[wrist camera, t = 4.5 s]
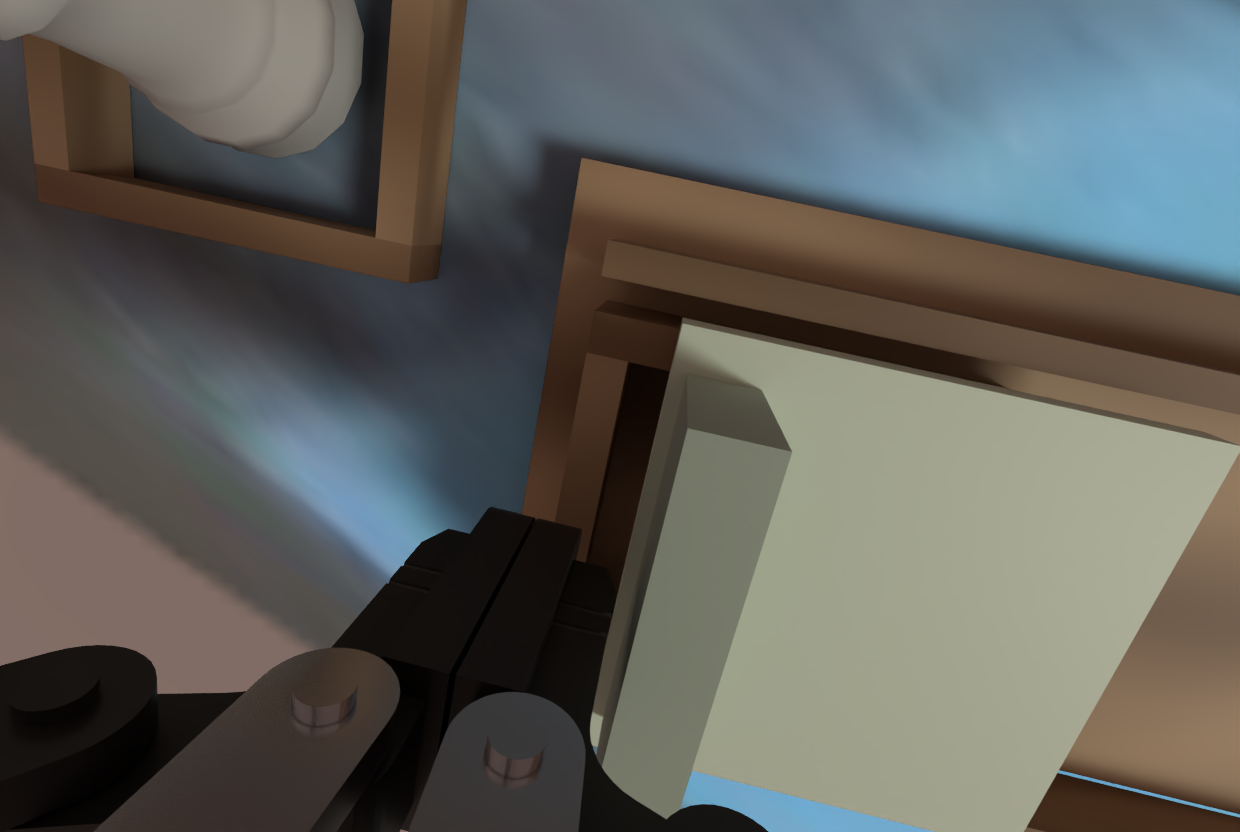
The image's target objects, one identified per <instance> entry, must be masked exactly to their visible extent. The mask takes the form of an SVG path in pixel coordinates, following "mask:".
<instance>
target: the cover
mask: <svg viewBox="0 0 1240 832" xmlns="http://www.w3.org/2000/svg"><path fill="white" fill-rule="evenodd" d="M1239 453H1240V445H1237V444H1235V443H1232V442H1229V441H1227V440H1224V439H1221V438H1219V437H1216V436H1214V435H1211V434H1208V433H1206V432H1202V431H1198V430H1193V429H1189V428H1184V427H1180V426H1175V425H1171V424H1166V423H1161V422H1157V421H1152V420H1148V419H1143V418H1139V417H1134V416H1130V415H1125V414H1120V413H1116V412H1111V411H1107V410H1102V409H1098V408H1093V407H1089V406H1084V405H1079V404H1075V403H1070V402H1066V401H1061V400H1057V399H1052V398H1048V397H1043V396H1038V395H1034V394H1029V393H1025V392H1020V391H1016V390H1011V389H1007V388H1002V387H997V386H993V385H988V384H984V383H979V382H975V381H970V380H966V379H961V378H956V377H952V376H947V375H943V374H938V373H934V372H929V371H925V370H920V369H915V368H911V367H906V366H902V365H897V364H893V363H888V362H884V361H879V360H874V359H870V358H865V357H861V356H856V355H852V354H847V353H843V352H838V351H833V350H829V349H824V348H820V347H815V346H811V345H806V344H802V343H797V342H792V341H788V340H783V339H779V338H774V337H770V336H765V335H761V334H756V333H751V332H747V331H742V330H738V329H733V328H729V327H724V326H720V325H715V324H710V323H706V322H701V321H697V320H692V319H688V318H683V319H682V323H681V327H680V332H679V336H678V340H677V344H676V349H675V353H674V357H673V361H672V366H671V370H670V374H669V378H668V383H667V387H666V391H665V395H664V400H663V404H662V408H661V412H660V417H659V421H658V425H657V429H656V433H655V438H654V442H653V446H652V450H651V455H650V459H649V463H648V467H647V472H646V476H645V480H644V484H643V489H642V493H641V497H640V501H639V506H638V510H637V514H636V518H635V523H634V527H633V531H632V535H631V540H630V544H629V548H628V552H627V557H626V561H625V565H624V569H623V574H622V578H621V582H620V586H619V591H618V595H617V599H616V603H615V607H614V612H613V616H612V620H611V624H610V629H609V633H608V637H607V641H606V646H605V650H604V655H603V660H602V665H601V670H600V676H599V681H598V686H597V691H596V696H595V701H594V706H593V712H592V717H591V724H590V736H591V743H592V746H596V747H598V748H597V754H596V757H597V760H598V762H599V763H600V765H601V767H602V768H603V770H604V771H605V773H606V774H607V775H608V776H609V777H610V779H611V780H612V781H613V782H614V783H615V784H616V785H617V786H618V787H619V788H620V789H621V790H622V791H623V792H625V793H626V794H628V795H629V796H631V797H632V798H633V799H635V800H636V801H638V802H640V803H641V804H643V805H644V806H646V807H648V808H649V809H651V810H652V811H654V812H656V813H657V814H659V815H660V816H662V817H664V818H665V819H667V818H668V817H669V816H670V815H672V814H674V813H675V812H677V811H679V809H680V806H681V803H682V800H683V797H684V794H685V790H686V787H687V784H688V781H689V778H690V775H691V771H696V772H700V773H704V774H708V775H712V776H716V777H720V778H724V779H728V780H732V781H736V782H740V783H744V784H748V785H752V786H756V787H760V788H764V789H768V790H772V791H776V792H780V793H784V794H788V795H792V796H795V797H799V798H803V799H807V800H811V801H815V802H819V803H823V804H827V805H831V806H835V807H839V808H843V809H847V810H851V811H855V812H859V813H863V814H867V815H871V816H875V817H879V818H883V819H887V820H891V821H895V822H899V823H903V824H907V825H911V826H915V827H919V828H923V829H927V830H931V831H935V832H1024V831H1025V829H1026V827H1027V825H1028V824H1029V822H1030V820H1031V818H1032V817H1033V815H1034V813H1035V811H1036V810H1037V808H1038V806H1039V804H1040V803H1041V801H1042V799H1043V797H1044V796H1045V794H1046V792H1047V790H1048V788H1049V787H1050V785H1051V783H1052V781H1053V780H1054V778H1055V776H1056V774H1057V773H1058V771H1059V769H1060V767H1061V766H1062V764H1063V762H1064V760H1065V759H1066V757H1067V755H1068V753H1069V752H1070V750H1071V748H1072V746H1073V745H1074V743H1075V741H1076V739H1077V737H1078V736H1079V734H1080V732H1081V730H1082V729H1083V727H1084V725H1085V723H1086V722H1087V720H1088V718H1089V716H1090V715H1091V713H1092V711H1093V709H1094V708H1095V706H1096V704H1097V702H1098V701H1099V699H1100V697H1101V695H1102V694H1103V692H1104V690H1105V688H1106V686H1107V685H1108V683H1109V681H1110V679H1111V678H1112V676H1113V674H1114V672H1115V671H1116V669H1117V667H1118V665H1119V664H1120V662H1121V660H1122V658H1123V657H1124V655H1125V653H1126V651H1127V650H1128V648H1129V646H1130V644H1131V643H1132V641H1133V639H1134V637H1135V635H1136V634H1137V632H1138V630H1139V628H1140V627H1141V625H1142V623H1143V621H1144V620H1145V618H1146V616H1147V614H1148V613H1149V611H1150V609H1151V607H1152V606H1153V604H1154V602H1155V600H1156V599H1157V597H1158V595H1159V593H1160V592H1161V590H1162V588H1163V586H1164V584H1165V583H1166V581H1167V579H1168V577H1169V576H1170V574H1171V572H1172V570H1173V569H1174V567H1175V565H1176V563H1177V562H1178V560H1179V558H1180V556H1181V555H1182V553H1183V551H1184V549H1185V548H1186V546H1187V544H1188V542H1189V541H1190V539H1191V537H1192V535H1193V533H1194V532H1195V530H1196V528H1197V526H1198V525H1199V523H1200V521H1201V519H1202V518H1203V516H1204V514H1205V512H1206V511H1207V509H1208V507H1209V505H1210V504H1211V502H1212V500H1213V498H1214V497H1215V495H1216V493H1217V491H1218V490H1219V488H1220V486H1221V484H1222V483H1223V481H1224V479H1225V477H1226V475H1227V474H1228V472H1229V470H1230V468H1231V467H1232V465H1233V463H1234V461H1235V460H1236V458H1237V456H1238V454H1239Z"/></svg>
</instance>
